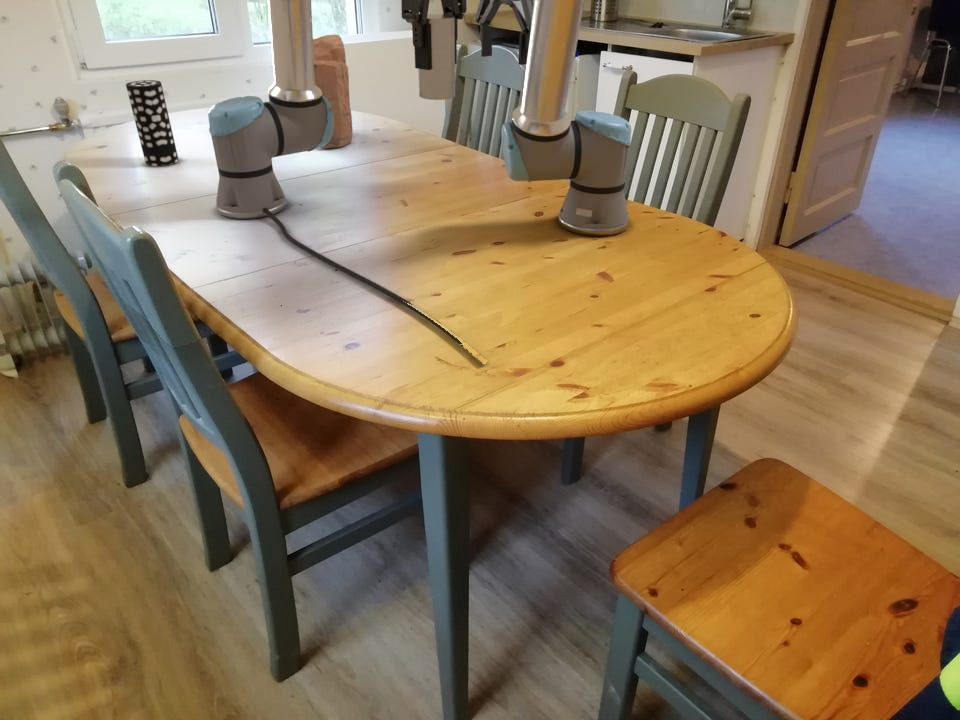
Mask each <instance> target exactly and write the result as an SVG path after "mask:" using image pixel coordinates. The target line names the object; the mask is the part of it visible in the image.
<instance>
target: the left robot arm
mask: <svg viewBox="0 0 960 720" xmlns="http://www.w3.org/2000/svg"><path fill="white" fill-rule="evenodd" d="M400 1H401V4H400V5H401V18H402V20H405V21H406V23H408V24H411V26H412V27H411V30H412V31H411V32H412V33H411V34H412V46H413V47H414V68H415V69H418V70H419V69H424V70H431V29H430V24H426V21H427V15H428V14H429V7H430V1H431V0H400ZM440 2H441V7H442V9H441V10H442V14H445V15H452V16H454V17H455V65H457V64H458V59H457V58H458V56H457V55H458V53H457V50H458V48H457V47H458V45H457V44H458V43H457V42H458V31H459V30H458V29H459V27H458V24H459V23H458V22H459V21H458V20H461V21H462V20H463V19H464V17H465V14H466V13H467V9H468V8H467V0H440ZM267 5H268V18H269V19H268V20H269V29H270V42H271V44H270V45H271V55H272V68H273V80H274V82H273V84H272V85H271V86H269V87H268V89H267V91H268V93H267V94H268V95H267V96H268V101H263V99H261V97H259V96H256V95H255V96H254V95H245V96H236V97H232V98H227V99H224V100H222V101H219V102H217V103H215V104H214V105H213V106H211V108H210V109H209V111H208V115H207V117H208V124H209V125H208V126H209V128H208V131H209V134H210V136H211V142H212V147H213V151H214V156H215V161H216V167H217V169H218V170H217V172H218V185H217V193H216V201H215V203H216V204H215V206H216V210H217V213H218V214H219V215H221V216H223V217H225V218H229V219H236V220H253V219H260V218H261V219H262V218H265V217H266V218H267V217H268V218H270V219H271V220H272V221H273V222H274V223H275V224H276V225H277V226H278V227H279V229H280V231H281V233H282V235H283V236H284V238H285V239H286V240H287V241H289V243H291V244H293V245H294V246H296V247H297V248H299V249H301V250H303V251H304V252H306V253H307V254H309V255H311V256H312V257H314V258H317V259H318V260H320V261H321V262H323V263H326V264H327V265H328V266H331V267H332V268H335V269H336V270H338V271H341V272H342V273H344V274H346V275H348V276H350V277H351V278H354V279H356V280H357V281H359V282H361V283H364V284H365V285H366V286H369V287H370V288H373V289H374V290H377V291H378V292H379V293H382V294H383V295H386V296H387V297H389V298H391V299H392V300H394V301H396V302H398V303H399V304H400V305H403V306H404V307H406V308H408V309H409V310H411V311H413V312H414V313H416V314H417V315H419V316H420V317H422V318H423V319H424V320H426V321H427V322H429V323H430V324H432V325H433V326H435V327H436V328H438V329H439V330H440V331H441V332H443V333H444V334H445V335H446V336H448V337H449V338H450V339H452V341H454V342H455V343H457V344H458V345H459V344H462V343H461V342H460V341H459V340H458V339H457V338H455V337H454V336H453V335H451V334H450V333H449V332H448V331H446V330H445V329H444V328H442V327H441V326H440V325H438V324H437V323H435V322H434V321H433V320H431V319H430V318H428V317H427V316H425V315H424V314H422V313H421V312H419V311H418V310H416V309H415V308H413V307H412V306H410V305H408V304H407V303H409V304H411V302H410V301H408V300H407V299H405V298H404V297H402V296H400V295H398V294H396V293H395V292H393V291H391V290H389V289H388V288H385V287H384V286H382V285H380V284H378V283H376V282H375V281H373V280H371V279H369V278H367V277H364V276H363V275H361V274H359V273H357V272H355V271H353V270H351V269H349V268H347V267H345V266H343V265H342V264H339V263H337V262H336V261H334V260H332V259H330V258H329V257H326V256H324V255H323V254H321V253H319V252H317V251H315V250H314V249H312V248H311V247H309V246H307V245H305V244H304V243H302V242H300V241H298V240H297V239H295V238H294V237H292V236H291V235H290V234H289V232H288V231H287V229H286V227H285V225H284V224H283V222H282V221H281V220H280V219H278V217H277V216H276V214H278V213H280V212H282V211H283V210H285V209H286V207H287V199H286V194H285V193H284V191H283V189H282V187H281V184H280V182H279V180H278V179H277V177H276V175H275V172H274V167H273V160H272V159H273V158H277V157H282V156H289V155H292V154H293V155H294V154H299V153H303V152H304V153H305V152H313V151H315V150H317V149H322V148H321V147H324V146H325V145H326V144H327V143H328V142H329V141H330V139H331V137H332V134H333V129H334V116H333V112H331V105H330V103H329V101H328V100H327V98H325V97H324V96H323V95H322V91H321V89H320V88H319V87H318V86H317V85H315V76H314V54H313V39H314V34H313V14H312V12H313V10H312V0H267ZM403 301H404V302H403ZM405 302H406V303H405ZM412 304H413V303H412ZM412 304H411V305H412ZM462 346H463V345H460V347H462Z"/></svg>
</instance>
